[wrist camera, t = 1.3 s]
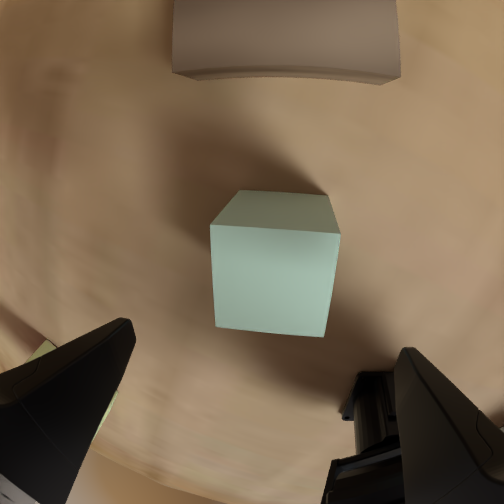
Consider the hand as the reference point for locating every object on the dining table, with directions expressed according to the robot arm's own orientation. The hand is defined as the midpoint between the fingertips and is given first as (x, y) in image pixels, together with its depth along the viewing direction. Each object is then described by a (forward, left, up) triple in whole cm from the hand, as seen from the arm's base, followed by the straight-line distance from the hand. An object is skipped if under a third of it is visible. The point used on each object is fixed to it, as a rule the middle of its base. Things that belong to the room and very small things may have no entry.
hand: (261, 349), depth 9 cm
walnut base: (+14, 0, -10) cm, 17 cm away
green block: (0, 0, -10) cm, 10 cm away
